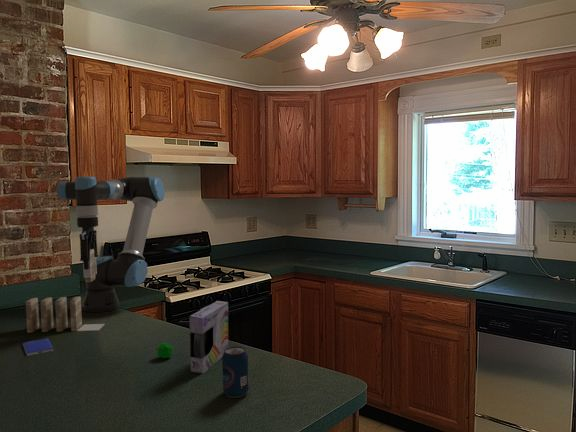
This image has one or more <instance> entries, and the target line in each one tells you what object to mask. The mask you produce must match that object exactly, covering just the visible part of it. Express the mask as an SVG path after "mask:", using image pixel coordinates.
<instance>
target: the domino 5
mask: <svg viewBox="0 0 576 432" xmlns="http://www.w3.org/2000/svg"><path fill="white" fill-rule="evenodd" d="M95 258H96V257H94V249H90V260H91V275H92V277H91V278H84V281H85V283H86V282H92V281H93V280H95V279H96V278H95Z"/></svg>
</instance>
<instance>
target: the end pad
mask: <svg viewBox="0 0 576 432" xmlns="http://www.w3.org/2000/svg"><path fill="white" fill-rule="evenodd" d="M104 326H105V323H92V324H90V323H89V324H86V323H85V324H82V327H81V328H79V329H78V330H77V331H76V332H97V331H98V332H99V331H100V330H101V329H102V328H103V327H104Z"/></svg>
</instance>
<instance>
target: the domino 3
mask: <svg viewBox="0 0 576 432" xmlns="http://www.w3.org/2000/svg"><path fill="white" fill-rule="evenodd" d="M54 304H55V308H54V309H55V321H56V322H55V323H56V332H63V331H64V330H66V329H67V328H68V327H69V323H68V322H69V321H68V302H67V296H61V297H59V298H57V299H56V300H55V301H54Z"/></svg>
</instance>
